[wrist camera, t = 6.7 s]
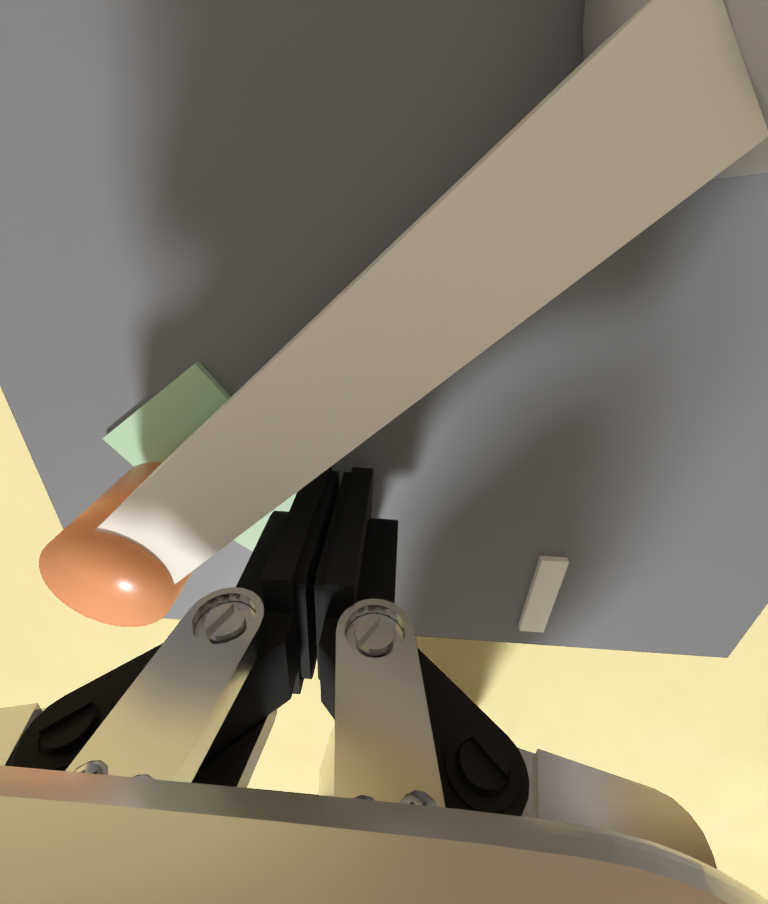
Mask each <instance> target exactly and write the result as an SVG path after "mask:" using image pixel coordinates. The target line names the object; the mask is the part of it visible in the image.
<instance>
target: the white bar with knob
mask: <svg viewBox="0 0 768 904" xmlns="http://www.w3.org/2000/svg"><path fill="white" fill-rule="evenodd" d="M583 56H584V61H583V62H582V63H581V64H580V65H579V66H578V67H577V68H576V69H575V70H574V71H573V72H572V73H570V74H569V75H568V76H567V77H566V78H565V79H564V80H563V81H562V82H561V83H560V84H559V85H558V86H557V87H556V88H555V89H554V90H553V91H552V92H551V93H549V94H548V95H547V96H546V97H545V98H544V99H543V100H542V101H541V102H540V103H539V104H538V105H537V106H536V107H535V108H534V109H533V110H532V111H531V112H530V113H529V114H527V115H526V116H525V117H524V118H523V119H522V120H521V121H520V122H519V123H518V124H517V125H516V126H515V127H514V128H513V129H512V130H511V131H510V132H509V133H508V134H506V135H505V136H504V137H503V138H502V139H501V140H500V141H499V142H498V143H497V144H496V145H495V146H494V147H493V148H492V149H491V150H490V151H489V152H488V153H487V154H486V155H484V156H483V157H482V158H481V159H480V160H479V161H478V162H477V163H476V164H475V165H474V166H473V167H472V168H471V169H470V170H469V171H468V172H467V173H466V174H465V175H463V176H462V177H461V178H460V179H459V180H458V181H457V182H456V183H455V184H454V185H453V186H452V187H451V188H450V189H449V190H448V191H447V192H446V193H445V194H444V195H442V196H441V197H440V198H439V199H438V200H437V201H436V202H435V203H434V204H433V205H432V206H431V207H430V208H429V209H428V210H427V211H426V212H425V213H424V214H423V215H422V216H420V217H419V218H418V219H417V220H416V221H415V222H414V223H413V224H412V225H411V226H410V227H409V228H408V229H407V230H406V231H405V232H404V233H403V234H402V235H401V236H399V237H398V238H397V239H396V240H395V241H394V242H393V243H392V244H391V245H390V246H389V247H388V248H387V249H386V250H385V251H384V252H383V253H382V254H381V255H380V256H379V257H377V258H376V259H375V260H374V261H373V262H372V263H371V264H370V265H369V266H368V267H367V268H366V269H365V270H364V271H363V272H362V273H361V274H360V275H359V276H358V277H356V278H355V279H354V280H353V281H352V282H351V283H350V284H349V285H348V286H347V287H346V288H345V289H344V290H343V291H342V292H341V293H340V294H339V295H338V296H337V297H335V298H334V299H333V300H332V301H331V302H330V303H329V304H328V305H327V306H326V307H325V308H324V309H323V310H322V311H321V312H320V313H319V314H318V315H317V316H316V317H315V318H313V319H312V320H311V321H310V322H309V323H308V324H307V325H306V326H305V327H304V328H303V329H302V330H301V331H300V332H299V333H298V334H297V335H296V336H295V337H294V338H292V339H291V340H290V341H289V342H288V343H287V344H286V345H285V346H284V347H283V348H282V349H281V350H280V351H279V352H278V353H277V354H276V355H275V356H274V357H273V358H272V359H270V360H269V361H268V362H267V363H266V364H265V365H264V366H263V367H262V368H261V369H260V370H259V371H258V372H257V373H256V374H255V375H254V376H253V377H252V378H251V379H249V380H248V381H247V382H246V383H245V384H244V385H243V386H242V387H241V388H240V389H239V390H238V391H237V392H236V393H235V394H234V395H233V396H232V397H231V398H230V399H228V400H227V401H226V402H225V403H224V404H223V405H222V406H221V407H220V408H219V409H218V410H217V411H216V412H215V413H214V414H213V415H212V416H211V417H210V418H209V419H208V420H206V421H205V422H204V423H203V424H202V425H201V426H200V427H199V428H198V429H197V430H196V431H195V432H194V433H193V434H192V435H191V436H190V437H189V438H188V439H187V440H185V441H184V442H183V443H182V444H181V445H180V446H179V447H178V448H177V449H176V450H175V451H174V452H173V453H172V454H171V455H170V456H169V457H168V458H167V459H166V460H165V461H163V462H147V463H143V464H140V465H137V466H135V467H133V468H131V469H130V470H129V471H128V472H127V473H126V474H124V475H123V476H122V477H121V478H120V479H119V480H118V481H117V482H116V483H115V484H113V485H112V486H111V487H110V488H109V489H108V490H107V491H106V492H105V493H104V494H102V495H101V496H100V497H99V498H98V499H97V500H96V501H95V502H94V503H93V504H91V505H90V506H89V507H88V508H87V509H86V510H85V511H84V512H83V513H82V514H80V515H79V516H78V517H77V518H76V519H75V520H74V521H73V522H72V523H71V524H69V525H68V526H67V527H66V528H65V529H64V530H63V531H62V532H61V533H60V534H58V535H57V536H56V537H55V538H54V539H53V540H52V541H51V542H50V543H48V544H47V545H46V547H45V548H44V549H43V550H42V553H41V555H40V559H39V568H40V573H41V575H42V578H43V580H44V581H45V583H46V585H47V586H48V588H49V589H50V590H51V591H52V593H53V594H54V595H55V596H56V597H57V598H58V599H60V600H61V601H62V602H63V603H64V604H66V605H67V606H68V607H70V608H72V609H73V610H75V611H76V612H78V613H80V614H82V615H84V616H86V617H88V618H91V619H93V620H96V621H99V622H102V623H106V624H110V625H115V626H122V627H138V626H145V625H149V624H152V623H154V622H157V621H159V620H160V619H162V618H163V617H164V616H165V615H166V614H167V613H168V612H169V610H170V608H171V607H172V605H173V603H174V602H175V600H176V598H177V597H178V595H179V594H180V592H181V590H182V589H183V587H184V585H185V584H186V582H187V580H188V579H189V577H190V575H191V574H192V572H193V570H194V569H196V568H197V567H198V566H200V565H201V564H202V563H204V562H205V561H206V560H208V559H209V558H210V557H212V556H213V555H214V554H216V553H217V552H218V551H220V550H221V549H222V548H224V547H225V546H226V545H228V544H229V543H230V542H232V541H233V540H234V539H235V538H237V537H238V536H239V535H241V534H242V533H243V532H245V531H246V530H247V529H249V528H250V527H251V526H253V525H254V524H255V523H257V522H258V521H259V520H261V519H262V518H263V517H265V516H266V515H267V514H269V513H270V512H271V511H273V510H274V509H275V508H277V507H278V506H279V505H281V504H282V503H283V502H285V501H286V500H287V499H288V498H290V497H291V496H292V495H294V494H295V493H296V492H298V491H299V490H300V489H302V488H303V487H304V486H306V485H307V484H308V483H310V482H311V481H312V480H314V479H315V478H316V477H318V476H319V475H320V474H322V473H323V472H324V471H326V470H327V469H328V468H330V467H331V466H332V465H334V464H335V463H336V462H338V461H339V460H340V459H341V458H343V457H344V456H345V455H347V454H348V453H349V452H351V451H352V450H353V449H355V448H356V447H357V446H359V445H360V444H361V443H363V442H364V441H365V440H367V439H368V438H369V437H371V436H372V435H373V434H375V433H376V432H377V431H379V430H380V429H381V428H383V427H384V426H385V425H387V424H388V423H389V422H391V421H392V420H393V419H394V418H396V417H397V416H398V415H400V414H401V413H402V412H404V411H405V410H406V409H408V408H409V407H410V406H412V405H413V404H414V403H416V402H417V401H418V400H420V399H421V398H422V397H424V396H425V395H426V394H428V393H429V392H430V391H432V390H433V389H434V388H436V387H437V386H438V385H440V384H441V383H442V382H443V381H445V380H446V379H447V378H449V377H450V376H451V375H453V374H454V373H455V372H457V371H458V370H459V369H461V368H462V367H463V366H465V365H466V364H467V363H469V362H470V361H471V360H473V359H474V358H475V357H477V356H478V355H479V354H481V353H482V352H483V351H485V350H486V349H487V348H489V347H490V346H491V345H493V344H494V343H495V342H496V341H498V340H499V339H500V338H502V337H503V336H504V335H506V334H507V333H508V332H510V331H511V330H512V329H514V328H515V327H516V326H518V325H519V324H520V323H522V322H523V321H524V320H526V319H527V318H528V317H530V316H531V315H532V314H534V313H535V312H536V311H538V310H539V309H540V308H542V307H543V306H544V305H546V304H547V303H548V302H549V301H551V300H552V299H553V298H555V297H556V296H557V295H559V294H560V293H561V292H563V291H564V290H565V289H567V288H568V287H569V286H571V285H572V284H573V283H575V282H576V281H577V280H579V279H580V278H581V277H583V276H584V275H585V274H587V273H588V272H589V271H591V270H592V269H593V268H595V267H596V266H597V265H599V264H600V263H601V262H602V261H604V260H605V259H606V258H608V257H609V256H610V255H612V254H613V253H614V252H616V251H617V250H618V249H620V248H621V247H622V246H624V245H625V244H626V243H628V242H629V241H630V240H632V239H633V238H634V237H636V236H637V235H638V234H640V233H641V232H642V231H644V230H645V229H646V228H648V227H649V226H650V225H652V224H653V223H654V222H655V221H657V220H658V219H659V218H661V217H662V216H663V215H665V214H666V213H667V212H669V211H670V210H671V209H673V208H674V207H675V206H677V205H678V204H679V203H681V202H682V201H683V200H685V199H686V198H687V197H689V196H690V195H691V194H693V193H694V192H695V191H697V190H698V189H699V188H701V187H702V186H703V185H705V184H706V183H707V182H708V181H710V180H713V179H721V178H729V177H737V176H745V175H752V174H760V173H768V0H585V9H584V21H583Z"/></svg>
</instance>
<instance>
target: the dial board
mask: <svg viewBox="0 0 768 904" xmlns="http://www.w3.org/2000/svg"><path fill="white" fill-rule="evenodd" d="M584 9H585V0H0V386H1V389H2V391H3V393H4V395H5V398H6V400H7V402H8V405H9V407H10V409H11V411H12V414H13V416H14V418H15V420H16V423H17V425H18V427H19V429H20V432H21V434H22V436H23V439H24V441H25V443H26V445H27V448H28V450H29V452H30V454H31V457H32V459H33V461H34V463H35V466H36V468H37V470H38V473H39V475H40V477H41V479H42V482H43V484H44V486H45V488H46V491H47V493H48V495H49V498H50V500H51V502H52V504H53V507H54V509H55V511H56V513H57V516H58V518H59V520H60V522H61V525H62V527H63V529H65V528H66V527H67V526H68V525H69V524H71V523H72V522H73V521H74V520H75V519H76V518H77V517H78V516H79V515H80V514H82V513H83V512H84V511H85V510H86V509H87V508H88V507H89V506H90V505H91V504H93V503H94V502H95V501H96V500H97V499H98V498H99V497H100V496H101V495H102V494H104V493H105V492H106V491H107V490H108V489H109V488H110V487H111V486H112V485H113V484H115V483H116V482H117V481H118V480H119V479H120V478H121V477H122V476H123V475H124V474H126V473H127V472H128V471H129V470H130V469H131V468H133V467H135V466H137V465H140V464H143V463H147V462H163V461H165V460H166V459H167V458H168V457H169V456H170V455H171V454H172V453H173V452H174V451H175V450H176V449H177V448H178V447H179V446H180V445H181V444H182V443H183V442H184V441H185V440H187V439H188V438H189V437H190V436H191V435H192V434H193V433H194V432H195V431H196V430H197V429H198V428H199V427H200V426H201V425H202V424H203V423H204V422H205V421H206V420H208V419H209V418H210V417H211V416H212V415H213V414H214V413H215V412H216V411H217V410H218V409H219V408H220V407H221V406H222V405H223V404H224V403H225V402H226V401H227V400H228V399H230V398H231V397H232V396H233V395H234V394H235V393H236V392H237V391H238V390H239V389H240V388H241V387H242V386H243V385H244V384H245V383H246V382H247V381H248V380H249V379H251V378H252V377H253V376H254V375H255V374H256V373H257V372H258V371H259V370H260V369H261V368H262V367H263V366H264V365H265V364H266V363H267V362H268V361H269V360H270V359H272V358H273V357H274V356H275V355H276V354H277V353H278V352H279V351H280V350H281V349H282V348H283V347H284V346H285V345H286V344H287V343H288V342H289V341H290V340H291V339H292V338H294V337H295V336H296V335H297V334H298V333H299V332H300V331H301V330H302V329H303V328H304V327H305V326H306V325H307V324H308V323H309V322H310V321H311V320H312V319H313V318H315V317H316V316H317V315H318V314H319V313H320V312H321V311H322V310H323V309H324V308H325V307H326V306H327V305H328V304H329V303H330V302H331V301H332V300H333V299H334V298H335V297H337V296H338V295H339V294H340V293H341V292H342V291H343V290H344V289H345V288H346V287H347V286H348V285H349V284H350V283H351V282H352V281H353V280H354V279H355V278H356V277H358V276H359V275H360V274H361V273H362V272H363V271H364V270H365V269H366V268H367V267H368V266H369V265H370V264H371V263H372V262H373V261H374V260H375V259H376V258H377V257H379V256H380V255H381V254H382V253H383V252H384V251H385V250H386V249H387V248H388V247H389V246H390V245H391V244H392V243H393V242H394V241H395V240H396V239H397V238H398V237H399V236H401V235H402V234H403V233H404V232H405V231H406V230H407V229H408V228H409V227H410V226H411V225H412V224H413V223H414V222H415V221H416V220H417V219H418V218H419V217H420V216H422V215H423V214H424V213H425V212H426V211H427V210H428V209H429V208H430V207H431V206H432V205H433V204H434V203H435V202H436V201H437V200H438V199H439V198H440V197H441V196H442V195H444V194H445V193H446V192H447V191H448V190H449V189H450V188H451V187H452V186H453V185H454V184H455V183H456V182H457V181H458V180H459V179H460V178H461V177H462V176H463V175H465V174H466V173H467V172H468V171H469V170H470V169H471V168H472V167H473V166H474V165H475V164H476V163H477V162H478V161H479V160H480V159H481V158H482V157H483V156H484V155H486V154H487V153H488V152H489V151H490V150H491V149H492V148H493V147H494V146H495V145H496V144H497V143H498V142H499V141H500V140H501V139H502V138H503V137H504V136H505V135H506V134H508V133H509V132H510V131H511V130H512V129H513V128H514V127H515V126H516V125H517V124H518V123H519V122H520V121H521V120H522V119H523V118H524V117H525V116H526V115H527V114H529V113H530V112H531V111H532V110H533V109H534V108H535V107H536V106H537V105H538V104H539V103H540V102H541V101H542V100H543V99H544V98H545V97H546V96H547V95H548V94H549V93H551V92H552V91H553V90H554V89H555V88H556V87H557V86H558V85H559V84H560V83H561V82H562V81H563V80H564V79H565V78H566V77H567V76H568V75H569V74H570V73H572V72H573V71H574V70H575V69H576V68H577V67H578V66H579V65H580V64H581V63H582V62H583V61H584V56H583V21H584ZM352 467H360V468H373V493H372V516H371V518H378V519H391V520H398V540H397V563H396V585H395V604H396V605H397V606H399V607H400V608H402V609H403V610H404V611H405V612H406V614H407V615H408V616H409V617H410V619H411V622H412V625H413V628H414V633H415V636H424V637H438V638H453V639H467V640H481V641H495V642H510V643H524V644H538V645H552V646H567V647H581V648H595V649H609V650H624V651H638V652H652V653H666V654H681V655H695V656H709V657H723V658H728V656H729V655H730V654H731V652H732V651H733V650H734V648H735V647H736V645H737V644H738V643H739V641H740V640H741V639H742V637H743V636H744V635H745V633H746V632H747V631H748V629H749V628H750V627H751V625H752V624H753V622H754V621H755V620H756V618H757V617H758V616H759V614H760V613H761V612H762V610H763V609H764V608H765V606H766V605H767V604H768V173H760V174H752V175H745V176H737V177H729V178H721V179H713V180H710V181H708V182H707V183H706V184H705V185H703V186H702V187H701V188H699V189H698V190H697V191H695V192H694V193H693V194H691V195H690V196H689V197H687V198H686V199H685V200H683V201H682V202H681V203H679V204H678V205H677V206H675V207H674V208H673V209H671V210H670V211H669V212H667V213H666V214H665V215H663V216H662V217H661V218H659V219H658V220H657V221H655V222H654V223H653V224H652V225H650V226H649V227H648V228H646V229H645V230H644V231H642V232H641V233H640V234H638V235H637V236H636V237H634V238H633V239H632V240H630V241H629V242H628V243H626V244H625V245H624V246H622V247H621V248H620V249H618V250H617V251H616V252H614V253H613V254H612V255H610V256H609V257H608V258H606V259H605V260H604V261H602V262H601V263H600V264H599V265H597V266H596V267H595V268H593V269H592V270H591V271H589V272H588V273H587V274H585V275H584V276H583V277H581V278H580V279H579V280H577V281H576V282H575V283H573V284H572V285H571V286H569V287H568V288H567V289H565V290H564V291H563V292H561V293H560V294H559V295H557V296H556V297H555V298H553V299H552V300H551V301H549V302H548V303H547V304H546V305H544V306H543V307H542V308H540V309H539V310H538V311H536V312H535V313H534V314H532V315H531V316H530V317H528V318H527V319H526V320H524V321H523V322H522V323H520V324H519V325H518V326H516V327H515V328H514V329H512V330H511V331H510V332H508V333H507V334H506V335H504V336H503V337H502V338H500V339H499V340H498V341H496V342H495V343H494V344H493V345H491V346H490V347H489V348H487V349H486V350H485V351H483V352H482V353H481V354H479V355H478V356H477V357H475V358H474V359H473V360H471V361H470V362H469V363H467V364H466V365H465V366H463V367H462V368H461V369H459V370H458V371H457V372H455V373H454V374H453V375H451V376H450V377H449V378H447V379H446V380H445V381H443V382H442V383H441V384H440V385H438V386H437V387H436V388H434V389H433V390H432V391H430V392H429V393H428V394H426V395H425V396H424V397H422V398H421V399H420V400H418V401H417V402H416V403H414V404H413V405H412V406H410V407H409V408H408V409H406V410H405V411H404V412H402V413H401V414H400V415H398V416H397V417H396V418H394V419H393V420H392V421H391V422H389V423H388V424H387V425H385V426H384V427H383V428H381V429H380V430H379V431H377V432H376V433H375V434H373V435H372V436H371V437H369V438H368V439H367V440H365V441H364V442H363V443H361V444H360V445H359V446H357V447H356V448H355V449H353V450H352V451H351V452H349V453H348V454H347V455H345V456H344V457H343V458H341V459H340V460H339V461H338V462H336V463H335V464H334V465H332V466H331V468H332V471H338V472H339V488H340V484H341V481H342V477H343V473H344V472H351V471H352ZM296 494H297V492H296V493H295V494H294V495H292V496H291V497H290V498H288V499H287V500H286V501H285V502H283V503H282V504H281V505H279V506H278V507H277V508H275V509H274V510H273V511H287V512H289V510H290V508H291V506H292V503H293V501H294V499H295V496H296ZM273 511H271V512H270V513H269V514H267V515H266V516H265V517H263V518H262V519H261V520H259V521H258V522H257V523H255V524H254V525H253V526H251V527H250V528H249V529H247V530H246V531H245V532H243V533H242V534H241V535H239V536H238V537H237V538H235V539H234V540H233V541H232V542H230V543H229V544H228V545H226V546H225V547H224V548H222V549H221V550H220V551H218V552H217V553H216V554H214V555H213V556H212V557H210V558H209V559H208V560H206V561H205V562H204V563H202V564H201V565H200V566H198V567H197V568H196V569H194V570H193V572H192V574H191V575H190V577H189V579H188V580H187V582H186V584H185V585H184V587H183V589H182V590H181V592H180V594H179V595H178V597H177V598H176V600H175V602H174V603H173V605H172V607H171V608H170V610H169V612H168V613H167V614H166V615H165V616H164V617H163V618H168V619H182V618H183V617H184V616H185V614H186V613H187V612H188V610H189V609H190V608H191V607H192V606H193V605H194V604H195V603H196V602H197V601H198V600H200V599H201V598H203V597H204V596H206V595H207V594H209V593H212V592H214V591H217V590H219V589H224V588H230V587H236V585H237V583H238V581H239V579H240V577H241V575H242V573H243V571H244V569H245V567H246V565H247V563H248V561H249V558H250V556H251V554H252V552H253V550H254V548H255V546H256V544H257V542H258V540H259V538H260V536H261V534H262V532H263V530H264V527H265V525H266V523H267V521H268V519H269V517H270V515H271V514H272V512H273Z"/></svg>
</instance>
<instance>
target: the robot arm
mask: <svg viewBox="0 0 768 904" xmlns="http://www.w3.org/2000/svg"><path fill="white" fill-rule="evenodd" d="M372 493H373V468H360V467H352V471H351V472H344V473H343V477H342V481H341V484H340V488H339V472H338V471H332V468H331V467H330V468H328V469H327V470H326V471H324V472H323V473H322V474H320V475H319V476H318V477H316V478H315V479H314V480H312V481H311V482H310V483H308V484H307V485H306V486H304V487H303V488H302V489H300V490H299V491H298V492H297V494H296V496H295V499H294V501H293V503H292V506H291V508H290V510H289V512H287V511H273V512H272V514H271V515H270V517H269V519H268V521H267V523H266V525H265V527H264V530H263V532H262V534H261V536H260V538H259V540H258V542H257V544H256V546H255V548H254V550H253V552H252V554H251V556H250V558H249V561H248V563H247V565H246V567H245V569H244V571H243V573H242V575H241V577H240V579H239V581H238V583H237V585H236V587H230V588H224V589H219V590H217V591H214V592H212V593H209V594H207V595H206V596H204V597H203V598H201V599H200V600H198V601H197V602H196V603H195V604H194V605H193V606H192V607H191V608H190V609H189V610H188V612H187V613H186V614H185V616H184V617H183V618H182V620H181V621H180V622H179V623H178V625H177V626H176V627H175V629H174V630H173V631H172V633H171V634H170V635H169V636H168V638H167V639H166V640H165V642H164V643H163V644H161V645H159V646H157V647H155V648H153V649H151V650H150V651H148V652H146V653H144V654H142V655H140V656H138V657H136V658H135V659H133V660H131V661H129V662H127V663H125V664H123V665H121V666H120V667H118V668H116V669H114V670H112V671H110V672H108V673H106V674H105V675H103V676H101V677H99V678H97V679H95V680H93V681H92V682H90V683H88V684H86V685H84V686H82V687H80V688H78V689H77V690H75V691H73V692H71V693H69V694H67V695H65V696H64V697H62V698H61V699H59V700H57V701H56V702H54V703H53V704H51V705H50V706H48V707H47V708H43V709H41V708H40V706H39V705H38V703H36V704H29V705H22V706H15V707H7V708H0V904H768V900H767V899H765V898H764V897H763V896H761V895H760V894H758V893H757V892H755V891H754V890H752V889H750V888H749V887H747V886H745V885H743V884H742V883H740V882H738V881H737V880H735V879H733V878H731V877H730V876H728V875H726V874H725V873H723V872H721V871H719V870H718V869H717V867H716V864H715V860H714V857H713V854H712V851H711V849H710V847H709V845H708V842H707V840H706V838H705V836H704V833H703V832H702V830H701V829H700V828H699V826H698V825H697V823H696V822H695V821H694V819H693V818H692V817H691V815H690V814H689V813H688V812H687V811H686V810H685V809H684V808H683V807H681V806H680V805H679V804H678V803H677V802H676V801H675V800H674V799H672V798H671V797H669V796H667V795H665V794H663V793H661V792H660V791H658V790H656V789H654V788H651V787H648V786H645V785H642V784H639V783H636V782H633V781H630V780H627V779H624V778H622V777H619V776H616V775H613V774H610V773H607V772H604V771H601V770H598V769H595V768H592V767H589V766H587V765H584V764H581V763H578V762H575V761H572V760H569V759H566V758H563V757H560V756H557V755H554V754H552V753H549V752H546V751H543V750H540V749H537V751H536V754H534V753H531V752H528V751H525V750H523V749H520V748H517V747H516V745H515V744H514V743H513V742H512V741H511V739H510V738H509V737H508V736H507V735H506V734H505V733H504V732H503V731H502V730H501V729H500V728H499V727H498V726H497V725H496V724H495V723H494V722H493V721H492V720H491V719H490V718H489V717H488V716H487V715H486V714H485V713H484V712H483V711H482V710H481V709H480V708H479V707H478V706H477V705H476V704H475V703H473V702H472V701H471V700H470V699H469V698H468V697H467V696H466V695H465V694H464V693H463V692H462V691H461V690H460V689H459V688H458V687H457V686H456V685H455V684H454V683H453V682H452V681H451V680H450V679H449V678H448V677H447V676H446V675H445V674H444V673H443V672H442V671H441V670H440V669H439V668H438V667H437V666H436V665H435V664H433V663H432V662H431V661H430V660H429V659H428V658H427V657H426V656H425V655H424V654H423V653H422V652H421V651H420V650H419V649H418V648H417V644H416V639H415V633H414V628H413V625H412V622H411V619H410V617H409V616H408V615H407V614H406V612H405V611H404V610H403V609H402V608H400V607H399V606H397V605H396V604H395V585H396V563H397V540H398V520H391V519H378V518H371V516H372ZM316 660H318V678H319V680H320V683H321V702H322V703H323V704H324V706H325V707H326V708H327V710H328V711H329V713H330V714H331V715H332V717H333V718H334V719H335V754H334V796H324V795H314V794H303V793H293V792H283V791H272V790H262V789H251V788H247V785H248V783H249V781H250V778H251V776H252V774H253V771H254V769H255V766H256V764H257V762H258V759H259V757H260V755H261V752H262V750H263V747H264V745H265V743H266V740H267V738H268V736H269V733H270V731H271V728H272V726H273V724H274V721H275V717H276V714H277V708H279V707H280V706H281V705H283V704H284V703H286V702H287V701H288V700H290V699H291V696H292V693H294V694H300V693H301V689H302V684H303V680H304V678H307V679H312V677H313V674H314V669H315V665H316Z"/></svg>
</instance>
